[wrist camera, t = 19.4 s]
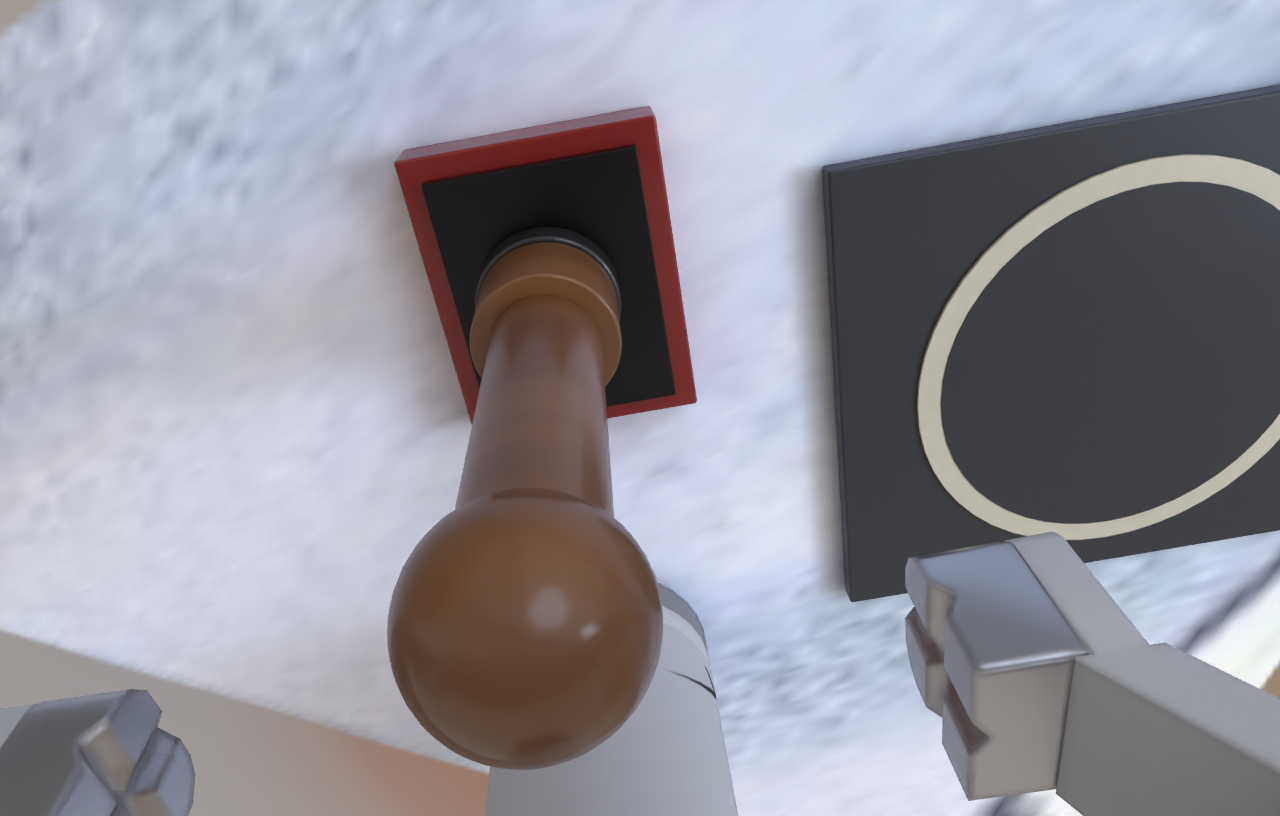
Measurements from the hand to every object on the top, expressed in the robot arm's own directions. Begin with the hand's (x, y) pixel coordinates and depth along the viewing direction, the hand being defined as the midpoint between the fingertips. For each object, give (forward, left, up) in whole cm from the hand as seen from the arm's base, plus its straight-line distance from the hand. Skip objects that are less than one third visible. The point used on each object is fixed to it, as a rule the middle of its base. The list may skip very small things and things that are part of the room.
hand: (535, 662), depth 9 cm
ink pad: (0, 0, -13) cm, 13 cm away
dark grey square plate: (+5, +14, -13) cm, 20 cm away
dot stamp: (0, 0, -12) cm, 12 cm away
